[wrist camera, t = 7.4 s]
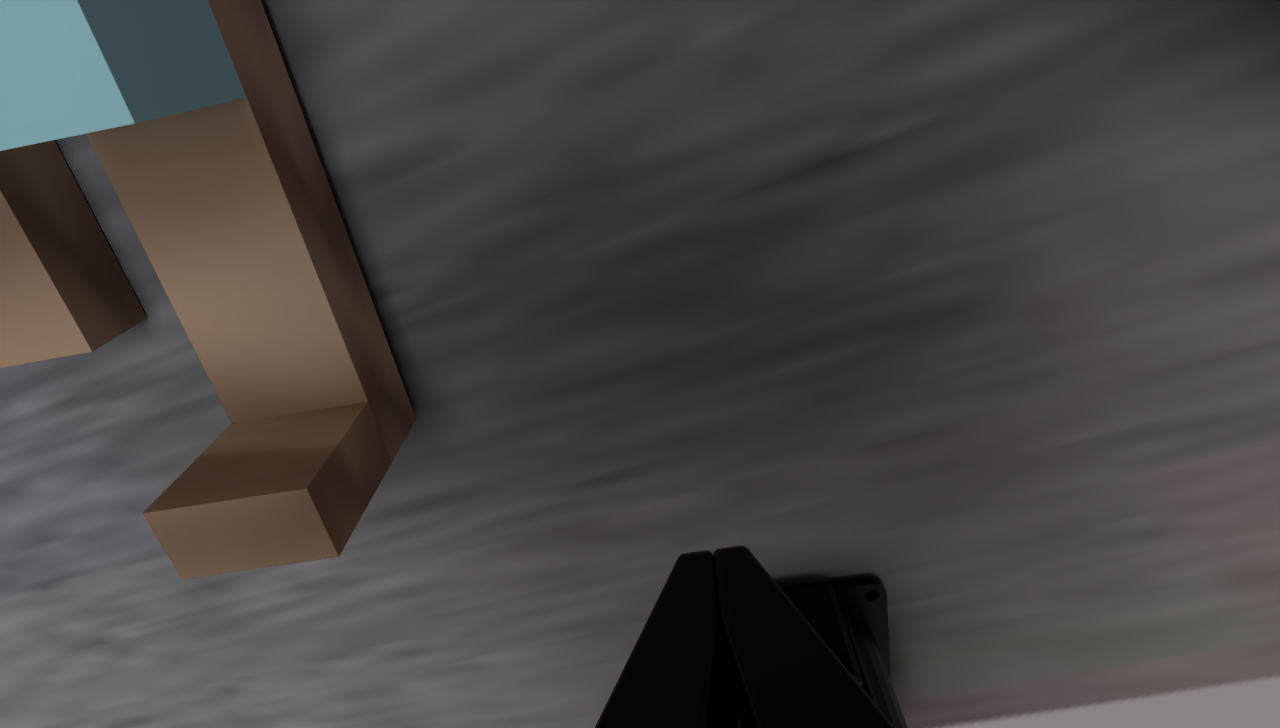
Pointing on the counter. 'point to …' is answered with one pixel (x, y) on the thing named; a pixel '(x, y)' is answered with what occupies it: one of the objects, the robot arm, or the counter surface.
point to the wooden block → (261, 319)
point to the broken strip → (54, 264)
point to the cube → (106, 65)
